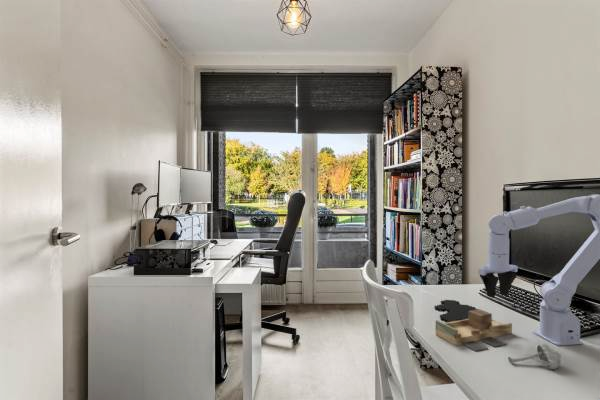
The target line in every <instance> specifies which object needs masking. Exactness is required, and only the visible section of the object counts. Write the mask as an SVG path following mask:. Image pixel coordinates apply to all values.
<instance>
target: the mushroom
mask: <svg viewBox="0 0 600 400" xmlns="http://www.w3.org/2000/svg"><path fill="white" fill-rule="evenodd" d="M561 357H562V356H561V354H560V353H559V352H558V351H556V350H554V349H552V348H550V347H549V345H547V344H546V343H540V344H538V345H537V348H536V353H533V354H529V355H526V356H525V355H524V356H520V357H512V356H511V357H510V356H508V357H507V360H508V362H509V363H510V364H511V365H512V364H514V363H517V362H518V363H519V362H523V361H527V360H534V361H537V362H541V363H543V364H546V363H547V365H549V366H547V367H548V369H550V370H556V369H557V368H559V364H561V362H562V358H561Z"/></svg>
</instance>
